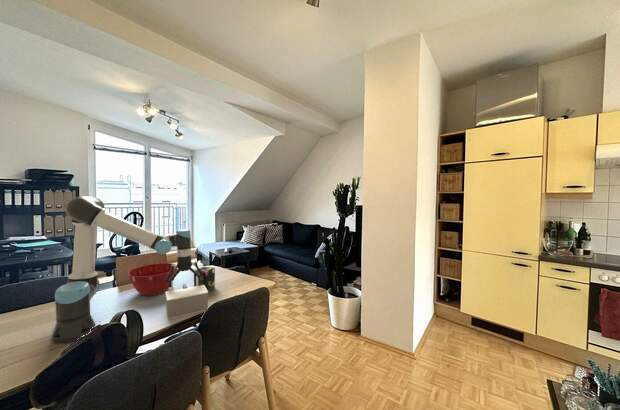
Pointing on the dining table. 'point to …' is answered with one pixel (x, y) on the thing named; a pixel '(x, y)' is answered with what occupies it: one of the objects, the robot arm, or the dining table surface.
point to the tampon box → (206, 278)
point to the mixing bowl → (151, 278)
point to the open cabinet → (186, 305)
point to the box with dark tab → (185, 292)
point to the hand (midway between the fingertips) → (185, 290)
